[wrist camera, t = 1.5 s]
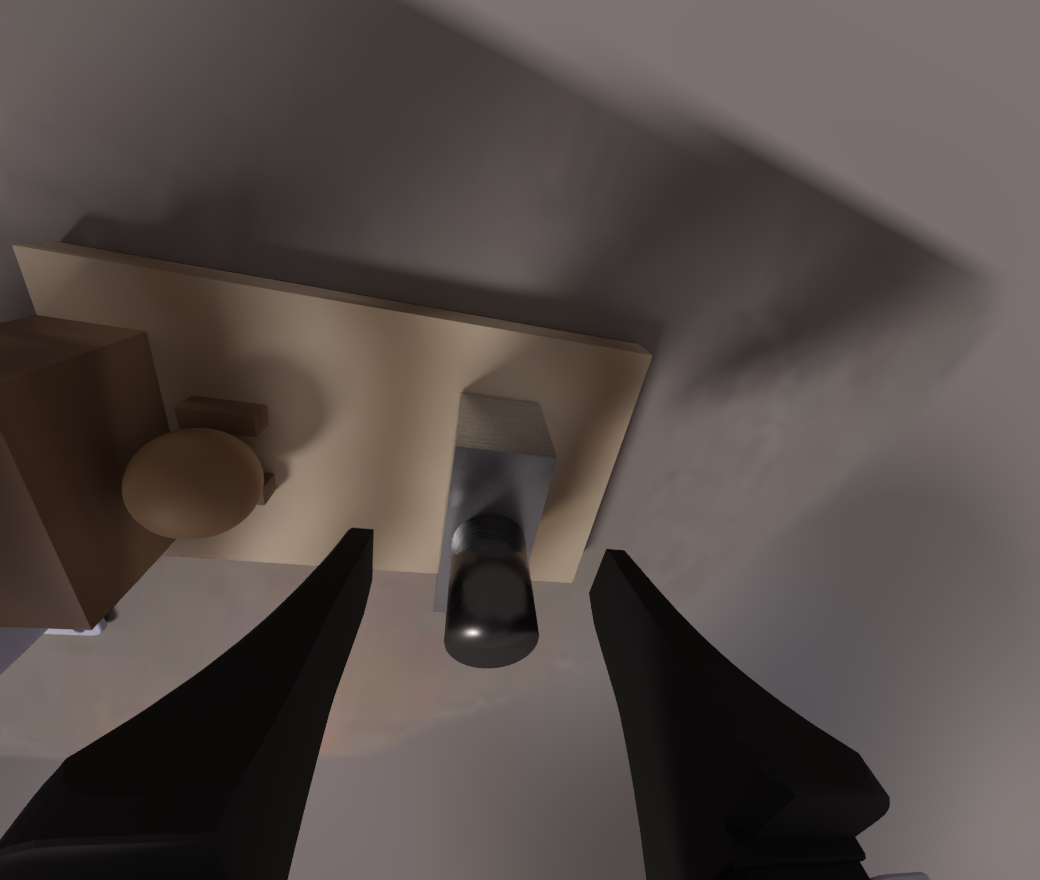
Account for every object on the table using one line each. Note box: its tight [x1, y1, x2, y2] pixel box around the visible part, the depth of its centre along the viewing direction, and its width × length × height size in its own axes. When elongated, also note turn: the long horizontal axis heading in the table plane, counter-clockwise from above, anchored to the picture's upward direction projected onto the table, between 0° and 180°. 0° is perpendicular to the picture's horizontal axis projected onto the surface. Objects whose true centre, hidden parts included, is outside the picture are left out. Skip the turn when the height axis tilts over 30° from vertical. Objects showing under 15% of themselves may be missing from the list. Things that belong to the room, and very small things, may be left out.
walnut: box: [122, 428, 264, 540], centre depth 13 cm, size 4×4×4 cm
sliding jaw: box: [433, 392, 557, 668], centre depth 14 cm, size 3×7×8 cm, turn 169°
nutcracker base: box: [0, 242, 653, 630], centre depth 15 cm, size 20×12×6 cm, turn 79°
